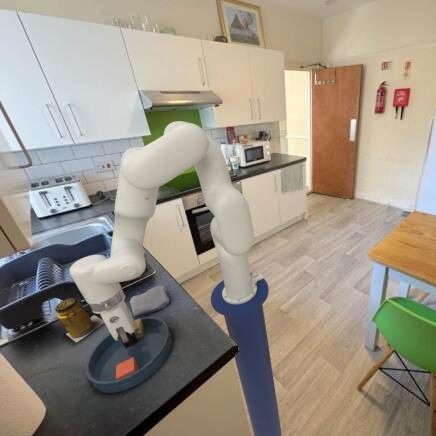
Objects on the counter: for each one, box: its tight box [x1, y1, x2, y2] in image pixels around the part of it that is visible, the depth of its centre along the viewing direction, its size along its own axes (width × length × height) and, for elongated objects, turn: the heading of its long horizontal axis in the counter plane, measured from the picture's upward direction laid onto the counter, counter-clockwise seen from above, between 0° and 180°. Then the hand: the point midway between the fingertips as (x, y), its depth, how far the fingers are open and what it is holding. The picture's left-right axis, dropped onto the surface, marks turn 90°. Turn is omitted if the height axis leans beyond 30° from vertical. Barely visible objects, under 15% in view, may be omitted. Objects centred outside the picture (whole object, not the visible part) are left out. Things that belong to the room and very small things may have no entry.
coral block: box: [116, 357, 139, 380], centre depth 63 cm, size 4×4×4 cm
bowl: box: [85, 316, 173, 394], centre depth 69 cm, size 20×20×4 cm
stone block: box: [129, 285, 170, 317], centre depth 86 cm, size 12×5×10 cm
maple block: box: [133, 318, 145, 339], centre depth 74 cm, size 4×4×4 cm
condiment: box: [54, 297, 105, 344], centre depth 76 cm, size 7×8×12 cm
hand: (131, 343), depth 71 cm, fingers closed
